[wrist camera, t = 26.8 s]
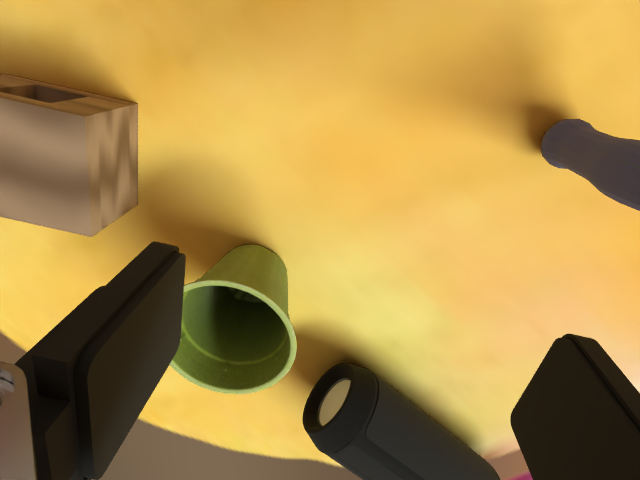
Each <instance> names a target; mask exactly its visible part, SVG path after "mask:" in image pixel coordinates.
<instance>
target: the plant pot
mask: <svg viewBox="0 0 640 480" xmlns="http://www.w3.org/2000/svg"><path fill="white" fill-rule="evenodd" d="M255 296H256V297H255ZM296 349H297V342H296V335H295V332H294V329H293V326H292V324H291V322H290V318H289V314H288V282H287V270H286V267H285V265H284V263H283V261H282V260H281V259H280V257H279V256H278V255H277V254H275V253H273V252H271V251H270V250H268V249H266V248H264V247H262V246H259V245H242V246H239V247H236V248H234V249H233V250H231V251H230V252H229V253H227V254H226V255H225V256H224V257H223V258H222V259H221V260H220V261H219V262H218V263H216V264H215V265H214V266H213V267H212V268H211V269H210V270H209V271H208V272H207V273H206V274H204V275H203V276H202V277H201V278H200V279H198V280H196V281H195V282H192V283H189V284H187V285H184V293H183V309H182V325H181V339H180V344H179V348H178V350H177V352H176V354H175V356H174V358H173V359H172V361H171V363H170V365H171V367H172V368H174V369H175V370H176V371H177V372H178V373H179V374H180V375H182V376H183V377H184V378H186V379H187V380H189V381H190V382H192V383H194V384H196V385H198V386H201V387H203V388H206V389H208V390H211V391H215V392H220V393H226V394H247V393H253V392H257V391H260V390H262V389H266V388H268V387H270V386H272V385H274V384H275V383H277V382H278V381H280V380H281V379H282V378H283V377H284V376H285V375H286V374H287V372H288V371H289V370H290V368H291V366H292V364H293V362H294V359H295V356H296Z"/></svg>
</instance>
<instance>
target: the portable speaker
mask: <svg viewBox="0 0 640 480" xmlns="http://www.w3.org/2000/svg"><path fill="white" fill-rule="evenodd" d="M303 425H304V428H305V430H306V432H307V433H308V435H309V436H310V438H311V440H312V441H313V443H314V444H315V446H316V447H317V448H318V450H319V451H321V452H323V453H325V454H326V455H328V456H329V457H330V458H332V459H333V460H335V461H336V462H338V463H339V464H341V465H342V466H344V467H345V468H347V469H348V470H349V471H351V472H352V473H354V474H355V475H357V476H358V477H360V478H361V479H363V480H500V478H499V476H498V474H497V473H496V471H495V469H494V468H493V467H492V466H491V465H490V464H489V463H488V462H487V461H486V460H485V459H483V458H482V457H481V456H479V455H478V454H477V453H476V452H474V451H473V450H472V449H470V448H469V447H468V446H467V445H465V444H464V443H463V442H462V441H460V440H459V439H458V438H456V437H455V436H454V435H453V434H451V433H450V432H449V431H447V430H446V429H445V428H444V427H442V426H441V425H440V424H438V423H437V422H436V421H435V420H433V419H432V418H431V417H429V416H428V415H427V414H426V413H424V412H423V411H422V410H420V409H419V408H418V407H417V406H415V405H414V404H413V403H411V402H410V401H409V400H408V399H406V398H405V397H404V396H402V395H401V394H400V393H399V392H397V391H396V390H395V389H393V388H392V387H391V386H390V385H388V384H387V383H386V382H385V381H383V380H382V379H381V378H379V377H378V376H377V375H376V374H374V373H373V372H371V371H370V370H368V369H366V368H362V367H358V366H355V365H351V364H347V363H341V364H338V365H336V366H334V367H332V368H331V369H329V370H328V371H327V372H326V373H325V374H324V375H323V376H322V377H321V378H320V379H319V381H318V382H317V383H316V385H315V386H314V388H313V389H312V391H311V393H310V395H309V397H308V399H307V402H306V405H305V408H304V412H303Z"/></svg>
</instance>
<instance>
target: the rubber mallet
mask: <svg viewBox="0 0 640 480" xmlns="http://www.w3.org/2000/svg"><path fill="white" fill-rule="evenodd" d="M541 152H542V156H543V157H544V158H545V159H546V161H547V162H548V163H549V164H551V165H553V166H555V167H558V168H564V169H569V170H571V171H573V172H575V173H576V174H578V175H580V176H582V177H584V178H585V179H587V180H588V181H589V182H591V183H592V184H593V185H594V186H595V187H596V188H597V189H598V190H599V191H600V192H602V193H603V194H604V195H606V196H608V197H610V198H612V199H613V200H615V201H617V202H619V203H622V204H624V205H626V206H629V207H631V208H634V209H636V210H639V211H640V140H633V139H624V138H618V137H613V136H611V135H608V134H605V133H602V132H599V131H597V130H595V129H594V128H593V127H592V126H591V125H590V124H589V123H587V122H585V121H583V120H580V119H564V120H562V121H559V122H557V123H556V124H554V125H553V126H552V127H551V128H550V129H549V130H547V132H546V133H545V135H544V137H543V140H542V145H541Z"/></svg>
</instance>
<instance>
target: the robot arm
mask: <svg viewBox="0 0 640 480" xmlns="http://www.w3.org/2000/svg"><path fill="white" fill-rule="evenodd" d="M184 276H185V255H184V254H182V253H179V248H178V247H177V246H173V245H169V244H164V243H160V242H152V243H151V244H149V245H148V246H147V247H146V248H145V249H144V250H143V251H142V252H141V253H140V254H139V255H138V256H137V257H136V258H134V259H133V260H132V261H131V262H130V263H129V264H128V265H127V266H126V267H125V268H124V269H123V270H122V271H121V272H120V273H118V274H117V275H116V276H115V277H114V278H113V279H112V280H111V281H110V282H109V283H108V284H107V285H106V286H101V287H99V288H98V289H96V290H95V291H94V292H93V293H91V294H90V295H89V296H88V297H87V298H86V299H85V300H84V301H83V302H82V303H81V304H79V305H78V306H77V307H76V308H75V309H74V310H73V311H72V312H71V313H70V314H69V315H67V316H66V317H65V318H64V319H63V320H62V321H61V322H60V323H59V324H58V325H57V326H55V327H54V328H53V329H52V330H51V331H50V332H49V333H48V334H47V335H46V336H45V337H43V338H42V339H41V340H40V341H39V342H38V343H37V344H36V345H35V346H34V347H33V348H31V349H30V350H29V351H28V352H27V353H26V354H25V355H24V356H23V357H22V358H20V359H19V360H18V361H17V362H16V363H15V364H11V363H7V362H4V361H0V480H91V479H95V480H98V479H100V478H101V477H102V476H103V474H104V472H105V471H106V469H107V468H108V466H109V464H110V463H111V461H112V459H113V458H114V456H115V454H116V453H117V451H118V449H119V448H120V446H121V444H122V443H123V441H124V439H125V438H126V436H127V434H128V433H129V431H130V429H131V428H132V426H133V424H134V423H135V421H136V419H137V418H138V416H139V414H140V413H141V411H142V409H143V408H144V406H145V404H146V403H147V401H148V399H149V398H150V396H151V394H152V393H153V391H154V389H155V388H156V386H157V384H158V383H159V381H160V379H161V378H162V376H163V374H164V373H165V371H166V369H167V368H168V366H169V364H170V363H171V361H172V359H173V358H174V356H175V354H176V352H177V350H178V348H179V344H180V339H181V325H182V309H183V293H184ZM511 426H512V429H513V432H514V434H515V437H516V439H517V441H518V444H519V446H520V449H521V451H522V454H523V456H524V458H525V461H526V463H527V466H528V468H529V471H530V473H531V476H532V478H533V480H640V393H639V392H638V391H637V390H636V388H635V387H634V386H633V385H632V383H631V382H630V381H629V380H628V379H627V377H626V376H625V375H624V374H623V372H622V371H621V370H620V369H619V368H618V366H617V365H616V364H615V363H614V362H613V360H612V359H611V358H610V357H609V355H608V354H607V353H606V352H605V351H604V349H603V348H602V347H601V346H600V344H599V343H598V342H597V341H596V340H594V339H591V338H587V337H583V336H578V335H574V334H566V335H564V336H563V337H562V338H558V339H556V340H555V341H554V343H553V344H552V346H551V348H550V349H549V351H548V353H547V354H546V356H545V358H544V359H543V361H542V363H541V364H540V366H539V368H538V369H537V371H536V373H535V374H534V376H533V378H532V379H531V381H530V383H529V384H528V386H527V388H526V389H525V391H524V393H523V394H522V396H521V398H520V399H519V401H518V403H517V404H516V406H515V407H514V409H513V411H512V413H511Z"/></svg>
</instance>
